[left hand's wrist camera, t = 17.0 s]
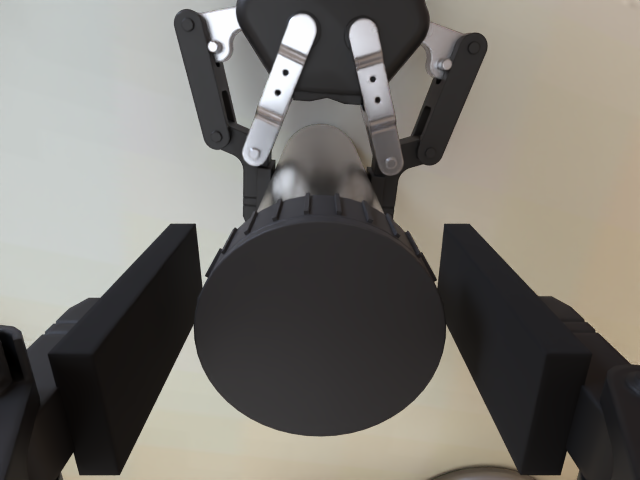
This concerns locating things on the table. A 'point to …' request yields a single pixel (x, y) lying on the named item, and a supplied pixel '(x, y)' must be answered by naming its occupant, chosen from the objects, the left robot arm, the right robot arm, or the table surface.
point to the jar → (320, 168)
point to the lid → (319, 317)
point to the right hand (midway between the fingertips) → (317, 234)
